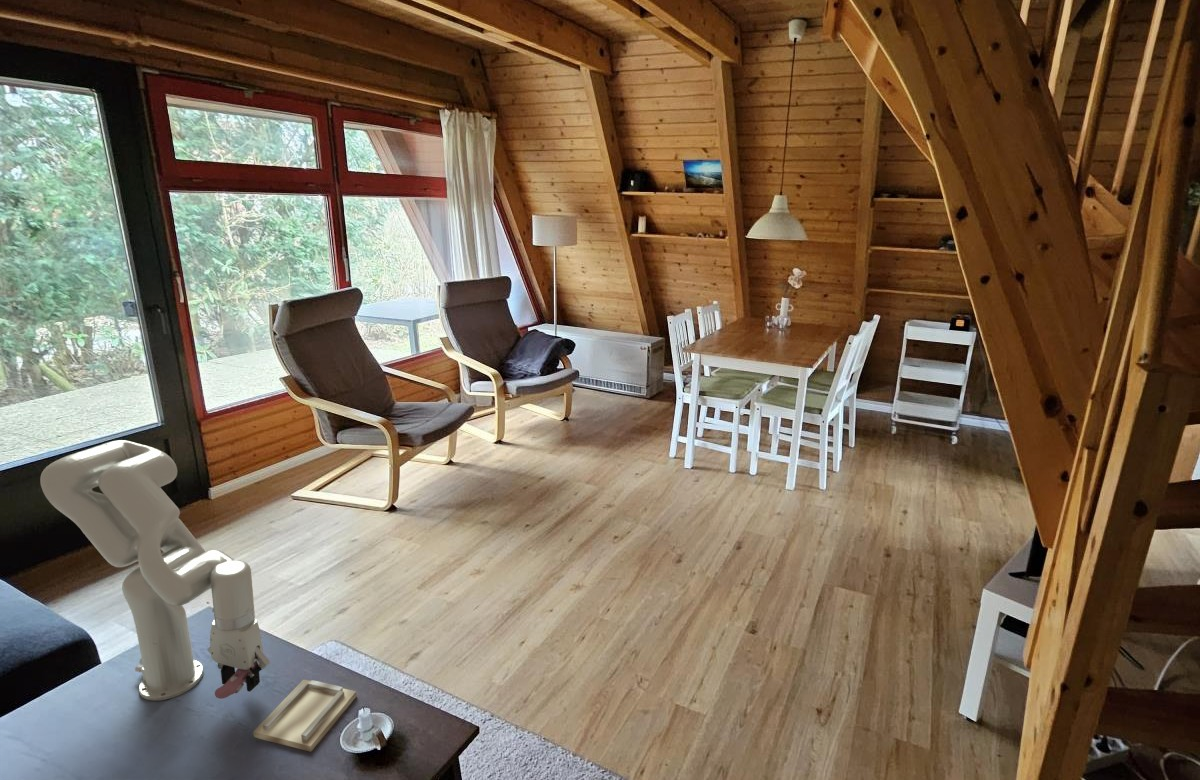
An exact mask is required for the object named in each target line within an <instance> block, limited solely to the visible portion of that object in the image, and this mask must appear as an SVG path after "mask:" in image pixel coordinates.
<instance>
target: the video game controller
mask: <svg viewBox="0 0 1200 780" xmlns="http://www.w3.org/2000/svg"><path fill="white" fill-rule="evenodd" d="M251 668H252V669H253V668H255V666H254V664H253V665H252V666H251ZM247 676H248V674H247V672H246V670H244V669H239V668H236V669H235V674H234V675H233V676H232V677H231V678H230V679H229V680H228V681H227V682H226V683H225V684H222V685H221V686H220V687H218V688H216V689H215V691H214V696H215V697H216V698H217V699H226V698H228V697H230V696H231V695H234V694H238V693H239V692H240V691H242V689H243V686H245V683H246V677H247Z"/></svg>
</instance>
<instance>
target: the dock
mask: <svg viewBox="0 0 1200 780" xmlns="http://www.w3.org/2000/svg"><path fill="white" fill-rule="evenodd" d="M356 698H357V690H352V689H347V688H343V686H341V685H340V686H339V685H335V684H331V683H326V682H322V681H319V680H318V681H317V680H313V679H311V680H308V679H302V680H301V681H300V682H299V683H298V684H297V686H296V687H295V688H293V690H291V691H290V693H289V694H288V695H287V696H286V697H285V698H284V699H283V700H282V701H281V702H280V703H279V704H278V705H277V706H276V708H274V710H273V711H271V712H270V714H269V715H268V716H267V717H266V718H265V719H264V720H263V721H262V722H261V723H260V724H259V725H258V726H257V727H256V728H255V729H254V730H253V731H252V732H253V733H252V734H253V738H255V739H258V740H263V741H267V742H272V743H275V744H278V745H283V746H287V747H291V748H295V749H298V750H303V751H307V752H311V753H312V751H313V750H314V749H315V748H316V747H317V745H318V744H319V743H320V742H321V741H322V739H324V737H325V735H326V734H327V733H328V732H329V731H330V730H331V729H332V727H333V726H334V725H335V724H336V722H337V721H338V720H339V719H340V718H341V716H342V715H343V714H344V712H345V711H346V710H347V709H348V708H349V706H350V705H352V703H353V702H354V700H355V699H356Z"/></svg>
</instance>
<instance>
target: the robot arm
mask: <svg viewBox="0 0 1200 780" xmlns="http://www.w3.org/2000/svg"><path fill="white" fill-rule="evenodd" d="M177 476H178V467H177V463H175V461H174V459H172V457H171V456H170V455H168V454H167V453H166V452H164V451H162V450H160V449H158V448H155V447H152V446H149V445H145V444H141V443H137V442H134V441H130V440H126V439H124V440H123V439H119V440H118V439H116V440H112V441H107V442H105V443H102V444H99V445H96V446H93V447H90V448H87V449H84V450H81V451H77V452H75V453H72V454H68V455H66V456H64V457H61V458H59V459H56V460H55V461H53V462H51V463H50V464H49V465H47V466H46V467H45V468H44V469H43V471H42V472H41V474H40V480H39V481H40V487H41V489H42V493H43V494H44V496H45V498H46V500H48V502H49V503H50V504H51V506H53V507H54V508H55V509H56V510H57V511H59V512H60V513H61V514H63V515H64V516H65V517H67V518H68V519H70V520H71V521H72V522H73V523H74V524H75V525H76V526H77V527H78V528H79V529H80V530H81V532H82V533H83V535H85V537H86V538H87V539H88V541H90V543H91V544H92V545H93V546H94V548H95V549H96V550H97V552H98V553H99V554H100V555H101V557H103V559H105V561H106V562H107V563H108V564H110V565H111V566H113V567H115V568H124V567H127V566H130V565H132V564H135V563H136V562H138V567H136V568H135V569H134V570H132V571H131V572H130V573H128V575H127V576H126V577H125V578H124V580H123V582H122V585H121V589H122V594H123V597H124V599H125V601H126V603H127V604H128V607H129V609H130V612H131V614H132V617H133V621H134V622H133V623H134V627H135V630H136V636H137V640H138V641H137V642H138V645H139V646H138V647H139V651H140V656H141V657H140V659H139V664H138V665H136V666H135V669H134V671H135V672H137V673H142V679H141V681H140V683H139V686H138V691H139V695H140V696H141V697H142V698H143V699H145V700H147V701H155V702H156V701H166V700H169V699H173V698H176V697H178V696H181V695H182V694H185V693H186V692H188V691H190V690H191V689H192V688H193V687H195V686H196V685H198V683H199V682H200V681H201V679H202V678H203V675H204V667H203V664H202V663H201V662H200V661H198V660H195V659H194V654H193V647H192V641H191V635H190V630H189V623H188V617H187V613H186V609H185V608H184V606H183V605H187V604H189V603H190V602H192V601H193V600H196V599H197V598H198V597H200V596H202V595H203V594H204V593H205V592H208V591H209V590H211V597H212V606H213V607H212V609H211V612H212V613H213V618H214V619H213V621H212V624H211V628H210V636H209V637H210V640H209V645H210V646H209V647H208V648H207V651H208V653H209V654H210V657H211V660H212V661H214V662H215V663H217V668H218V669H219V670H220V677H221V684H222V685H224V684H225V683H226V682H227V681H228V680H229V679H230V678H231V677H232V676H233V675H234V674H235V672H236V669H238V668H239V669H244V670H246V672H247V674H248V676H247V677H246V690H247V692H252V691H253V689H255V688H256V687H257V686H258V685H259V684H260V682H261V678H260V672H261V671H262V670H263V669H266V667H268V666H269V665H270V664H271V661H270V659H269V658H268V657H267V656H266V655H265V654H264V646H263V640H262V634H261V630H260V627H259V626H260V625H259V622H258V621H257V619H256V615H255V603H254V589H253V588H254V587H253V579H252V577H253V576H252V569H251V566H250V565H249V563H247V562H246V561H244V560H239V559H238V560H237V559H234V558H233V557H231V556H230V555H228V554H227V553H225V552H224V551H221V550H219V549H209V550H205V549H204V548H203V546H202V545H201V544H200V542H199V541H198V540H197V538H195V536H194V535H193V534H192V533H191V531H190V530H189V529H188V527H187V526H186V525H185V523H183V521H182V520H181V519H180V518H179V517H180V515H181V511H180V508H179V507H178V506H177V505H176V504H175V502H174V501H173V500H172V499H171V498H170V497H169V496H168V495H167V493H166V492H165V491H164V490H163V489H162V487H164V486H166V485H169V484H170V483H172V482H174V480H175V479H176V478H177ZM97 487H99V490H100V491H101V492H102V493H101V492H97V491H95V490H93V489H94V488H97ZM253 664H254V666H255V668H253V669H252V668H251V666H252V665H253ZM235 668H236V669H235Z"/></svg>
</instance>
